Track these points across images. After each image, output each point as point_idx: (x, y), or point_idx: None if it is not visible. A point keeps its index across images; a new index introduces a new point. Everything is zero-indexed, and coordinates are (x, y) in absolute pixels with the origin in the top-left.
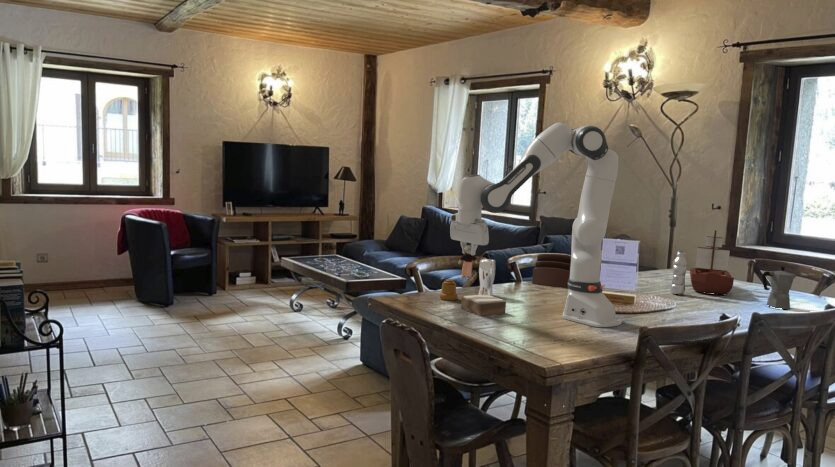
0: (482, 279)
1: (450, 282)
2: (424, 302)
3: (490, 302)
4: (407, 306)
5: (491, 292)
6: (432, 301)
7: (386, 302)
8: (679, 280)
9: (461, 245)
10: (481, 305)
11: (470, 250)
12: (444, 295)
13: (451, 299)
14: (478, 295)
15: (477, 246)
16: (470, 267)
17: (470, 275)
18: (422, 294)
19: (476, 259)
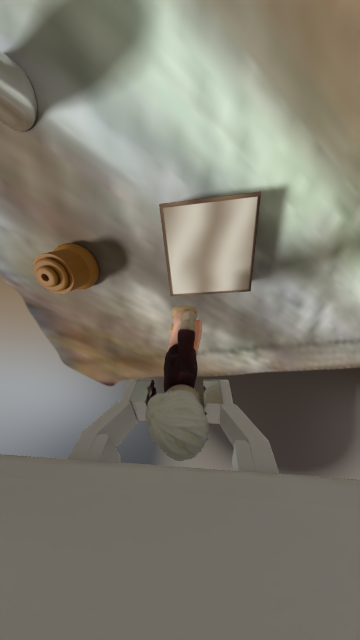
0: None
1: (56, 276)
2: (111, 328)
3: (250, 256)
4: (136, 364)
5: (16, 70)
6: (103, 311)
7: (107, 378)
8: None
9: (113, 443)
10: (250, 287)
11: (216, 422)
12: (88, 286)
13: (98, 270)
14: (174, 247)
15: (266, 439)
16: (199, 340)
17: (201, 323)
18: (39, 300)
19: (194, 330)
